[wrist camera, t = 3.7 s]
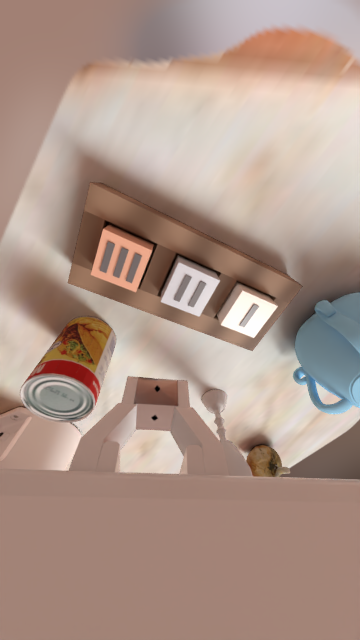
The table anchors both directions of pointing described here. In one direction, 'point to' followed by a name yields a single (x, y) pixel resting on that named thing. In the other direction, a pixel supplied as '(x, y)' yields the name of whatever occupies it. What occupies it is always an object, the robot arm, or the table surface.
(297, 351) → the decorative pot
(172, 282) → the tile two
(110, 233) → the tile three
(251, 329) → the tile one
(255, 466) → the onion
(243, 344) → the button board
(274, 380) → the table surface
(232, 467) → the chalice
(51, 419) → the canned food
